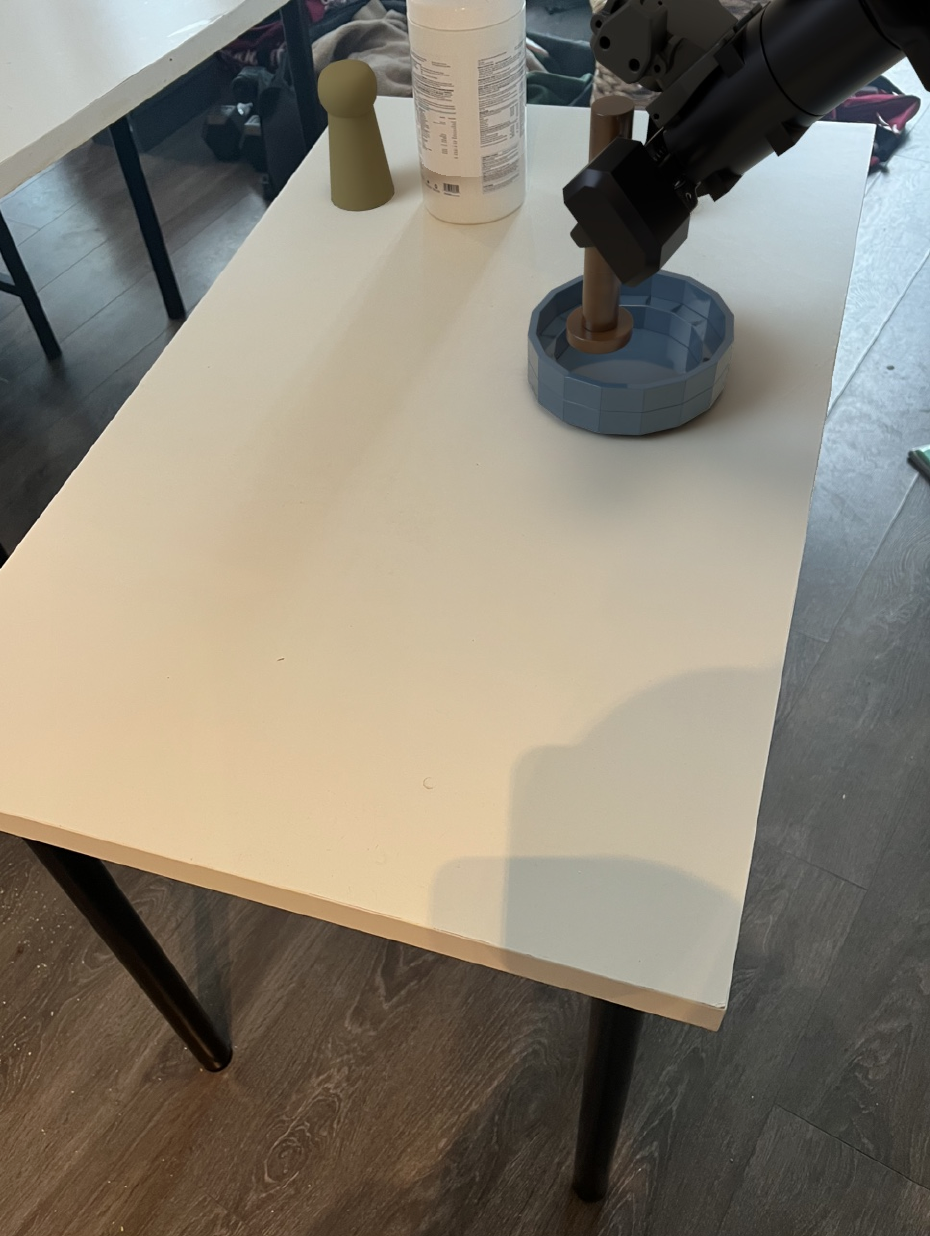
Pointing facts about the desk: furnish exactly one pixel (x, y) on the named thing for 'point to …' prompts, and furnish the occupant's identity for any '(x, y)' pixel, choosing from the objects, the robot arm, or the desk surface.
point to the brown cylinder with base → (600, 314)
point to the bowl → (634, 357)
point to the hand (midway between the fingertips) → (585, 228)
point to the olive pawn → (354, 136)
